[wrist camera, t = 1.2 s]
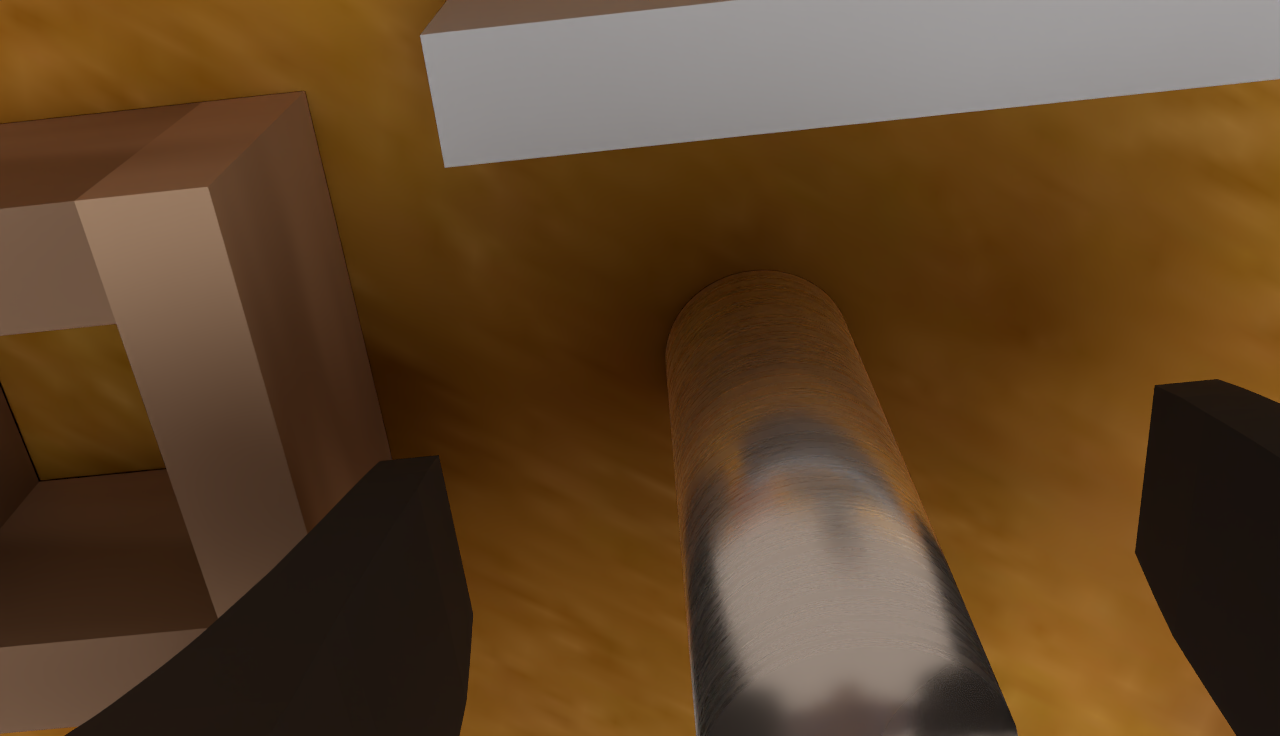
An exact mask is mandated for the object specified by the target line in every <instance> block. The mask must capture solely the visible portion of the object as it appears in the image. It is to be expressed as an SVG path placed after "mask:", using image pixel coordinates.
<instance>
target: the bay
mask: <svg viewBox="0 0 1280 736" xmlns="http://www.w3.org/2000/svg"><path fill="white" fill-rule="evenodd" d="M420 38H421V43H422V48H423V54H424V59H425V64H426V70H427V75H428V80H429V86H430V91H431V96H432V102H433V107H434V112H435V118H436V123H437V128H438V134H439V139H440V144H441V150H442V155H443V160H444V166H445V168H447V167H456V166H465V165H475V164H484V163H494V162H503V161H512V160H522V159H531V158H541V157H550V156H559V155H569V154H578V153H588V152H597V151H606V150H616V149H625V148H635V147H644V146H654V145H663V144H672V143H682V142H691V141H701V140H710V139H719V138H729V137H738V136H748V135H757V134H766V133H776V132H785V131H795V130H804V129H813V128H823V127H832V126H842V125H851V124H860V123H870V122H879V121H889V120H898V119H907V118H917V117H926V116H936V115H945V114H955V113H964V112H973V111H983V110H992V109H1002V108H1011V107H1020V106H1030V105H1039V104H1049V103H1058V102H1067V101H1077V100H1086V99H1096V98H1105V97H1114V96H1124V95H1133V94H1143V93H1152V92H1161V91H1171V90H1180V89H1190V88H1199V87H1208V86H1218V85H1227V84H1237V83H1246V82H1256V81H1265V80H1274V79H1280V0H447V1H446V2H445V4H444V5H443V6H442V7H441V9H440V10H439V11H438V13H437V14H436V15H435V16H434V18H433V19H432V20H431V22H430V23H429V24H428V25H427V27H426V28H425V29H424V31H423V32H422V33H421V34H420Z"/></svg>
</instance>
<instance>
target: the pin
mask: <svg viewBox="0 0 1280 736" xmlns="http://www.w3.org/2000/svg"><path fill="white" fill-rule="evenodd" d="M665 355H666V374H667V386H668V398H669V410H670V422H671V434H672V447H673V459H674V471H675V483H676V495H677V507H678V519H679V532H680V544H681V556H682V568H683V580H684V592H685V604H686V617H687V629H688V641H689V653H690V665H691V677H692V690H693V702H694V714H695V726H696V736H1018V734H1017V729H1016V725H1015V723H1014V721H1013V718H1012V716H1011V713H1010V711H1009V709H1008V706H1007V704H1006V701H1005V699H1004V697H1003V694H1002V692H1001V690H1000V687H999V685H998V682H997V680H996V678H995V675H994V673H993V671H992V668H991V666H990V664H989V661H988V659H987V656H986V654H985V652H984V649H983V647H982V645H981V642H980V640H979V637H978V635H977V633H976V630H975V628H974V626H973V623H972V621H971V618H970V616H969V614H968V611H967V609H966V607H965V604H964V602H963V599H962V597H961V595H960V592H959V590H958V588H957V585H956V583H955V581H954V578H953V576H952V573H951V571H950V569H949V566H948V564H947V562H946V559H945V557H944V554H943V552H942V550H941V547H940V545H939V543H938V540H937V538H936V535H935V533H934V531H933V528H932V526H931V524H930V521H929V519H928V517H927V514H926V512H925V509H924V507H923V505H922V502H921V500H920V498H919V495H918V493H917V490H916V488H915V486H914V483H913V481H912V479H911V476H910V474H909V471H908V469H907V467H906V464H905V462H904V460H903V457H902V455H901V453H900V450H899V448H898V445H897V443H896V441H895V438H894V436H893V434H892V431H891V429H890V426H889V424H888V422H887V419H886V417H885V415H884V412H883V410H882V407H881V405H880V403H879V400H878V398H877V396H876V393H875V391H874V389H873V386H872V384H871V381H870V379H869V377H868V374H867V372H866V370H865V367H864V365H863V362H862V360H861V358H860V355H859V353H858V351H857V348H856V346H855V343H854V341H853V339H852V336H851V334H850V332H849V329H848V327H847V324H846V322H845V320H844V317H843V315H842V313H841V312H840V310H839V309H838V307H837V305H836V304H835V303H834V302H833V301H832V299H831V298H830V297H829V296H828V295H827V294H826V293H825V292H823V291H822V290H821V289H820V288H818V287H817V286H815V285H814V284H812V283H811V282H809V281H807V280H805V279H803V278H801V277H798V276H795V275H792V274H789V273H784V272H779V271H769V270H757V271H748V272H742V273H737V274H734V275H731V276H727V277H725V278H723V279H720V280H718V281H716V282H714V283H712V284H711V285H709V286H707V287H706V288H704V289H703V290H702V291H700V292H699V293H698V294H696V295H695V296H694V297H693V298H692V299H691V300H690V301H689V302H688V303H687V304H686V305H685V307H684V308H683V309H682V311H681V312H680V313H679V315H678V317H677V318H676V320H675V322H674V324H673V326H672V328H671V331H670V333H669V337H668V341H667V346H666V354H665Z"/></svg>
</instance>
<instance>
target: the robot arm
mask: <svg viewBox="0 0 1280 736" xmlns="http://www.w3.org/2000/svg"><path fill="white" fill-rule="evenodd" d="M1135 554H1136V556H1137V558H1138V560H1139V563H1140V565H1141V567H1142V570H1143V572H1144V574H1145V576H1146V579H1147V581H1148V583H1149V586H1150V588H1151V590H1152V593H1153V595H1154V597H1155V599H1156V601H1157V604H1158V606H1159V608H1160V610H1161V612H1162V614H1163V616H1164V618H1165V620H1166V622H1167V624H1168V627H1169V629H1170V631H1171V633H1172V635H1173V637H1174V639H1175V640H1176V642H1177V643H1178V645H1179V647H1180V648H1181V650H1182V651H1183V653H1184V655H1185V656H1186V658H1187V659H1188V661H1189V663H1190V664H1191V666H1192V667H1193V669H1194V670H1195V672H1196V674H1197V675H1198V677H1199V678H1200V680H1201V681H1202V683H1203V685H1204V686H1205V688H1206V689H1207V691H1208V692H1209V694H1210V696H1211V697H1212V699H1213V700H1214V702H1215V703H1216V705H1217V706H1218V708H1219V709H1220V711H1221V713H1222V714H1223V716H1224V717H1225V719H1226V720H1227V722H1228V723H1229V725H1230V726H1231V728H1232V729H1233V731H1234V732H1235V734H1236V736H1280V403H1277V402H1275V401H1273V400H1270V399H1268V398H1266V397H1263V396H1261V395H1259V394H1256V393H1254V392H1251V391H1249V390H1246V389H1244V388H1241V387H1238V386H1236V385H1233V384H1230V383H1227V382H1224V381H1221V380H1218V379H1214V380H1204V381H1194V382H1184V383H1173V384H1163V385H1155V388H1154V396H1153V405H1152V413H1151V422H1150V430H1149V439H1148V447H1147V456H1146V464H1145V473H1144V481H1143V490H1142V498H1141V507H1140V515H1139V524H1138V532H1137V541H1136V549H1135ZM472 623H473V611H472V607H471V602H470V598H469V593H468V588H467V584H466V579H465V574H464V570H463V565H462V561H461V556H460V551H459V547H458V542H457V538H456V533H455V528H454V524H453V519H452V514H451V510H450V505H449V501H448V496H447V491H446V487H445V482H444V478H443V473H442V468H441V464H440V459H439V455H437V456H427V457H416V458H406V459H396V460H386V461H379V462H378V463H377V464H376V465H375V466H374V467H373V468H372V469H371V470H369V471H368V472H367V473H366V474H365V475H364V476H363V477H362V478H361V479H360V480H359V481H358V482H357V483H356V484H355V486H354V487H353V488H352V489H351V490H350V491H349V492H348V493H347V494H346V495H345V496H344V497H343V498H342V499H341V500H340V501H339V502H338V503H337V504H336V505H335V506H334V507H333V508H332V509H331V510H330V511H329V512H328V513H327V515H326V516H325V517H324V518H323V519H322V520H321V521H320V522H319V523H318V524H317V525H316V526H315V527H314V528H313V529H312V530H311V531H310V532H309V533H308V534H307V535H306V536H305V537H304V538H303V539H302V540H301V541H300V542H299V543H298V544H297V545H296V546H295V547H294V548H293V549H292V550H291V551H290V552H289V553H288V554H287V555H286V556H285V557H284V558H283V559H282V560H281V561H280V562H279V563H278V564H277V565H276V566H275V567H274V568H273V569H272V570H271V571H270V572H269V573H268V574H267V575H266V576H265V577H263V578H262V579H261V580H260V581H259V582H258V583H257V584H256V585H255V586H253V587H252V588H251V589H250V590H249V591H248V592H247V593H246V594H245V595H244V596H242V597H241V598H240V599H239V600H238V601H237V602H236V603H235V604H234V605H233V606H231V607H230V608H229V609H228V610H227V611H226V612H225V613H224V614H223V615H221V616H220V617H219V618H218V619H217V620H216V621H215V622H214V623H213V624H212V625H210V626H209V627H208V628H207V629H206V630H205V631H204V632H203V633H202V634H201V635H199V636H198V637H197V638H196V639H195V640H193V641H192V642H191V643H190V644H189V645H187V646H186V647H185V648H184V649H183V650H181V651H180V652H179V653H178V654H176V655H175V656H174V657H173V658H171V659H170V660H169V661H168V662H166V663H165V664H164V665H163V666H161V667H160V668H159V669H158V670H156V671H155V672H154V673H152V674H151V675H150V676H148V677H147V678H146V679H144V680H143V681H142V682H140V683H139V684H138V685H136V686H135V687H134V688H132V689H131V690H130V691H128V692H127V693H126V694H124V695H123V696H122V697H120V698H119V699H118V700H116V701H115V702H114V703H112V704H111V705H109V706H108V707H107V708H105V709H104V710H102V711H101V712H100V713H98V714H97V715H95V716H94V717H92V718H91V719H89V720H88V721H86V722H85V723H83V724H82V725H80V726H79V727H77V728H76V729H74V730H72V731H71V732H69V733H68V734H66V735H65V736H459V735H460V730H461V725H462V721H463V716H464V710H465V705H466V700H467V689H468V678H469V666H470V653H471V638H472Z"/></svg>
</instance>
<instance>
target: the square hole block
mask: <svg viewBox="0 0 1280 736" xmlns="http://www.w3.org/2000/svg"><path fill="white" fill-rule="evenodd" d="M110 324H117V327H118V330H119V333H120V336H121V339H122V342H123V344H124V347H125V350H126V353H127V356H128V359H129V362H130V365H131V368H132V371H133V373H134V376H135V379H136V382H137V385H138V388H139V391H140V394H141V397H142V400H143V403H144V405H145V408H146V411H147V414H148V417H149V420H150V423H151V426H152V429H153V432H154V434H155V437H156V440H157V443H158V446H159V449H160V452H161V455H162V458H163V461H164V464H165V466H166V469H163V470H153V471H143V472H133V473H123V474H113V475H102V476H92V477H82V478H72V479H62V480H52V481H42V482H39V481H38V478H37V476H36V473H35V471H34V468H33V466H32V463H31V461H30V458H29V456H28V453H27V451H26V449H25V446H24V444H23V441H22V439H21V436H20V434H19V431H18V429H17V426H16V424H15V421H14V419H13V417H12V414H11V412H10V409H9V407H8V404H7V402H6V399H5V397H4V394H3V392H2V389H1V387H0V734H1V733H12V732H23V731H33V730H44V729H55V728H66V727H77V726H80V725H82V724H83V723H85V722H86V721H88V720H89V719H91V718H92V717H94V716H95V715H97V714H98V713H100V712H101V711H102V710H104V709H105V708H107V707H108V706H109V705H111V704H112V703H114V702H115V701H116V700H118V699H119V698H120V697H122V696H123V695H124V694H126V693H127V692H128V691H130V690H131V689H132V688H134V687H135V686H136V685H138V684H139V683H140V682H142V681H143V680H144V679H146V678H147V677H148V676H150V675H151V674H152V673H154V672H155V671H156V670H158V669H159V668H160V667H161V666H163V665H164V664H165V663H166V662H168V661H169V660H170V659H171V658H173V657H174V656H175V655H176V654H178V653H179V652H180V651H181V650H183V649H184V648H185V647H186V646H187V645H189V644H190V643H191V642H192V641H193V640H195V639H196V638H197V637H198V636H199V635H201V634H202V633H203V632H204V631H205V630H206V629H207V628H208V627H209V626H210V625H212V624H213V623H214V622H215V621H216V620H217V619H218V618H219V617H220V616H221V615H223V614H224V613H225V612H226V611H227V610H228V609H229V608H230V607H231V606H233V605H234V604H235V603H236V602H237V601H238V600H239V599H240V598H241V597H242V596H244V595H245V594H246V593H247V592H248V591H249V590H250V589H251V588H252V587H253V586H255V585H256V584H257V583H258V582H259V581H260V580H261V579H262V578H263V577H265V576H266V575H267V574H268V573H269V572H270V571H271V570H272V569H273V568H274V567H275V566H276V565H277V564H278V563H279V562H280V561H281V560H282V559H283V558H284V557H285V556H286V555H287V554H288V553H289V552H290V551H291V550H292V549H293V548H294V547H295V546H296V545H297V544H298V543H299V542H300V541H301V540H302V539H303V538H304V537H305V536H306V535H307V534H308V533H309V532H310V531H311V530H312V529H313V528H314V527H315V526H316V525H317V524H318V523H319V522H320V521H321V520H322V519H323V518H324V517H325V516H326V515H327V513H328V512H329V511H330V510H331V509H332V508H333V507H334V506H335V505H336V504H337V503H338V502H339V501H340V500H341V499H342V498H343V497H344V496H345V495H346V494H347V493H348V492H349V491H350V490H351V489H352V488H353V487H354V486H355V484H356V483H357V482H358V481H359V480H360V479H361V478H362V477H363V476H364V475H365V474H366V473H367V472H368V471H369V470H371V469H372V468H373V467H374V466H375V465H376V464H377V463H378V462H379V461H386V460H392V457H391V453H390V448H389V444H388V440H387V436H386V431H385V427H384V423H383V419H382V415H381V410H380V406H379V402H378V398H377V394H376V389H375V385H374V381H373V377H372V372H371V368H370V364H369V360H368V356H367V351H366V347H365V343H364V339H363V335H362V330H361V326H360V322H359V318H358V313H357V309H356V305H355V301H354V297H353V292H352V288H351V284H350V280H349V276H348V271H347V267H346V263H345V259H344V254H343V250H342V246H341V242H340V238H339V233H338V229H337V225H336V221H335V217H334V212H333V208H332V204H331V200H330V195H329V191H328V187H327V183H326V179H325V174H324V170H323V166H322V162H321V158H320V153H319V149H318V145H317V141H316V136H315V132H314V128H313V124H312V120H311V115H310V111H309V107H308V103H307V99H306V94H305V91H300V92H291V93H282V94H273V95H264V96H254V97H245V98H236V99H227V100H218V101H208V102H199V103H190V104H181V105H172V106H162V107H153V108H144V109H135V110H126V111H117V112H107V113H98V114H89V115H80V116H71V117H61V118H52V119H43V120H34V121H25V122H16V123H6V124H0V336H3V335H12V334H22V333H32V332H42V331H51V330H61V329H71V328H80V327H90V326H100V325H110Z"/></svg>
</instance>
